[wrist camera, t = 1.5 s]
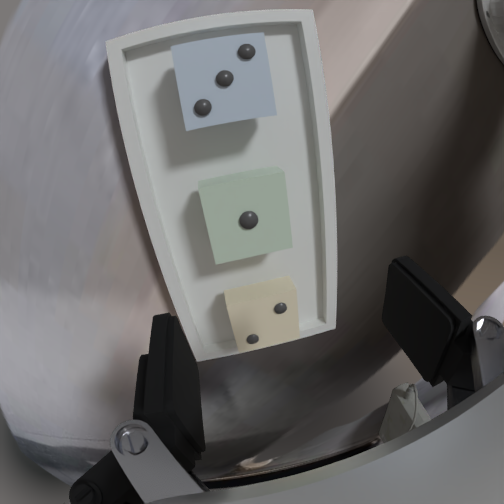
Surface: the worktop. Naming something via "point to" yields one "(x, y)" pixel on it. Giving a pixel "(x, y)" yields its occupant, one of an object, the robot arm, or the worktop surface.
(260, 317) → the key two dots
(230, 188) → the key one dot
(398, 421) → the geiger counter
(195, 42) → the key three dots
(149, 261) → the worktop surface
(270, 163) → the key panel
